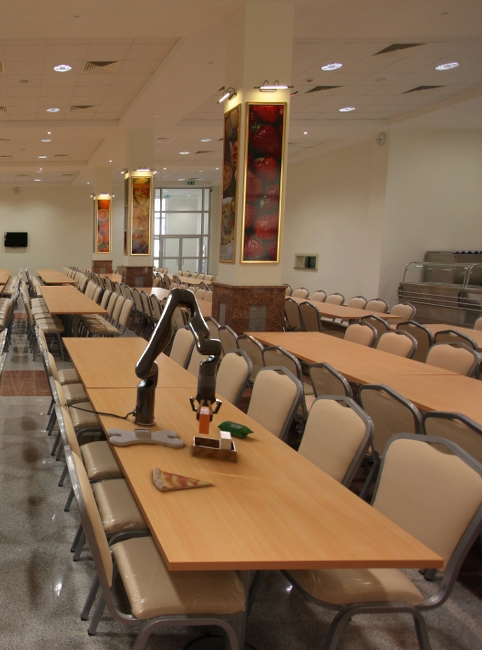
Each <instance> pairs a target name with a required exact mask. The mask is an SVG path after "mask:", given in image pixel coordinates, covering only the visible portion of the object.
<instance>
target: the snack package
mask: <svg viewBox="0 0 482 650" xmlns="http://www.w3.org/2000/svg"><path fill="white" fill-rule="evenodd" d="M216 427H217V429H219V430H220V431H224V432H230V435H231V436H234V437H237V438H244V437H247V436H248V435H251V434H254V433H255V432H254V430H252V429H251V428H250V427H248V426H247V425H244V424H241V423H238V422H235V421H231V420H225V421H223V422H221V423H219V424H218V425H217V426H216Z"/></svg>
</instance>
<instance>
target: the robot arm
mask: <svg viewBox="0 0 482 650" xmlns="http://www.w3.org/2000/svg"><path fill="white" fill-rule="evenodd" d="M177 308H180V309H185V310H186V311H187V312H188V316H189V317H188V323H187V324H188V328H189V330H190V332H191V334H192V336H193V339H194V343H195V348H196V352H197V353H198V354H199V355H200V356H208V357H207V358H205V359H203V360H201V361H200V362H199V365H198V366H199V367H198V368H199V369H198V377H197V387H196V395H195V396H193V397H192V396H189V403H190V406H191V411H192V412H195V413H196V415H195V419H196V420H197V422H199V419H200V410H201V408H208V409H209V411H210V423H209V424H211V423H212V422H213V417H214V415H218V414H219V411H220V409H221V407H222V405H223V401H222V400H221V399H217V398H216V390H217V369H218V368H217V367H218V365H219V362H220V358H221V356H222V354H223V344H222V342H221V340H220V339H216V338H215V339H214V338H213V339H212V338H211V339H209V338H210V336H211V331H210V328H209V327H208V325H207V323H206V322H205V320H204V318H203V316H202V313H201V310H200V308H199V305H198V302H197V299H196V295H195V293H194V292H193V291H192V290H191V289H187V288H182V287H177V286H176V287H173V288H171V289H170V290H169V292H168V295H167V297H166V300H165V303H164V306H163V309H162V311H161V314H160V316H159V318H158V320H157V323H156V325H155V327H154V328H153V331H152V333H151V336H150V338H149V340H148V342H147V344H146V346H145V349H144V351H143V353H142V354H141V356H140V358H139V359H138V360H137V362H136V364H135V367H134V374H135V376H136V377H137V378H138V379H139V380H140V381H139V382H138V383H137V385H136V401H135V408H133V410H132V411H131V412H128V413H127V414H126V416H120V415H117V414H114V413H109V412H101V411H95V410H91V409H87V408H82V407H79V406H74V405H72V404H69V403H66V402H64V403H65V405H64V406H67V407H70V408H72V409H76V410H79V411H82V412H88V413H93V414H98V415H103V416H104V415H105V416H111V417H115V418H119V419H124V420H125V419H128V418H129V416H130V415H132V417H134V424H138V425H141V426H147V427H148V426H153V425H154V424H155V422H154V421H155V407H156V390H157V387H158V381H159V371H160V370H159V365H158V362H156V360H157V359H158V357H159V356H160V355H161V354H162V353H163V352H164V351H165V350H166V348H167V347H168V346H169V344H170V342H171V340H172V338H173V335H175V334H174V333H175V327H174V321H173V318H174V314H175V312H176V309H177ZM54 400H55V399H51V402H54ZM195 402H197V403H198V405H197V408H196V406H195ZM214 404H216V406H215V408H214V409H213V405H214Z"/></svg>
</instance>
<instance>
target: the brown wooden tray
mask: <svg viewBox="0 0 482 650" xmlns="http://www.w3.org/2000/svg"><path fill="white" fill-rule="evenodd" d="M192 438H193V439H192V456H194V457H202V458H208V459H215V460H221V461H222V460H223V461H230V462H236V459H237V458H236V457H237V449H236V444H235V441H233V440H231V450H226V449H219V441H220V438H219V439H218V438H212V437H204V436H197V435H193V437H192Z"/></svg>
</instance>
